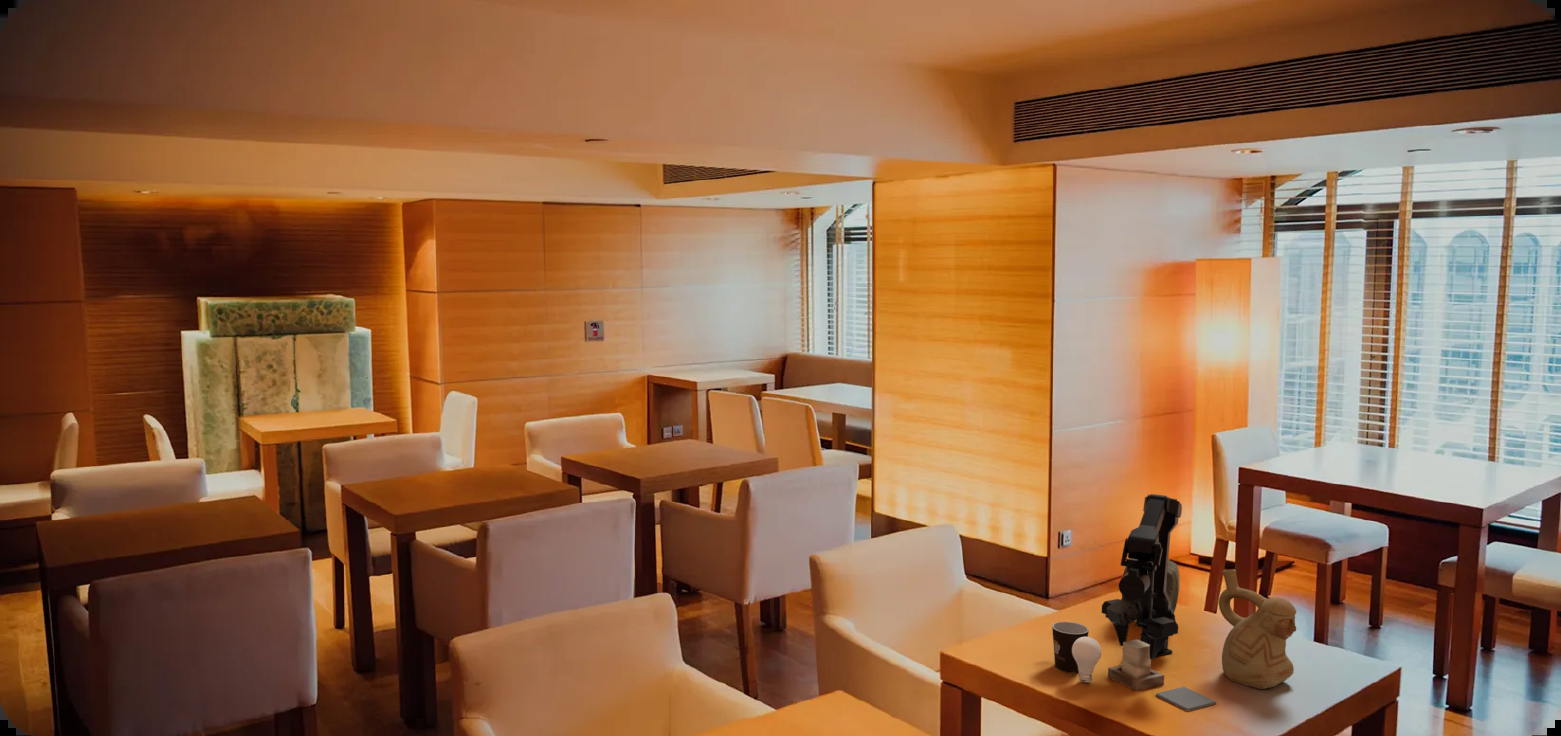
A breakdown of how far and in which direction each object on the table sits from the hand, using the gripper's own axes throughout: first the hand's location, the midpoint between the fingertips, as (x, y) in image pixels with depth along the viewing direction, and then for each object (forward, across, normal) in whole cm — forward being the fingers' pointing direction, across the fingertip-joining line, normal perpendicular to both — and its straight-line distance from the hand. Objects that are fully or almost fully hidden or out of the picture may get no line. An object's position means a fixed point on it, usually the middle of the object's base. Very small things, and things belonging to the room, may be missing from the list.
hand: (1137, 652), depth 241 cm
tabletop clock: (+7, -27, +33) cm, 43 cm away
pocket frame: (+7, 0, 0) cm, 7 cm away
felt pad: (+7, +13, +2) cm, 15 cm away
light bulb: (+7, -4, -12) cm, 15 cm away
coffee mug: (+7, -14, -8) cm, 18 cm away
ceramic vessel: (+7, +11, +27) cm, 30 cm away
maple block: (+7, 0, 0) cm, 7 cm away
